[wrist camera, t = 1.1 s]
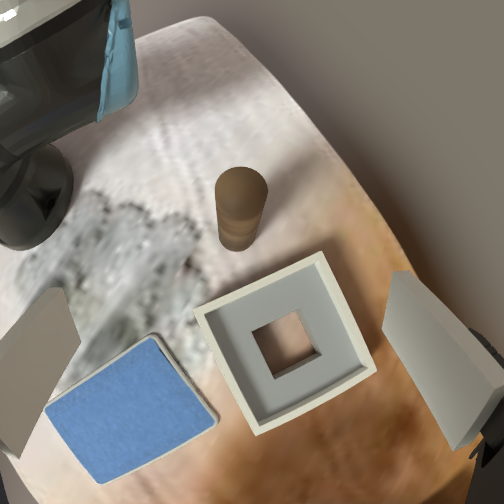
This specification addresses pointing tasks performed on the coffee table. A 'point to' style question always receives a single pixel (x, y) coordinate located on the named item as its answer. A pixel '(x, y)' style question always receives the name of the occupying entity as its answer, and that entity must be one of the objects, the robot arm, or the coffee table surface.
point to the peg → (239, 206)
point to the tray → (316, 326)
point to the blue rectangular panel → (130, 412)
